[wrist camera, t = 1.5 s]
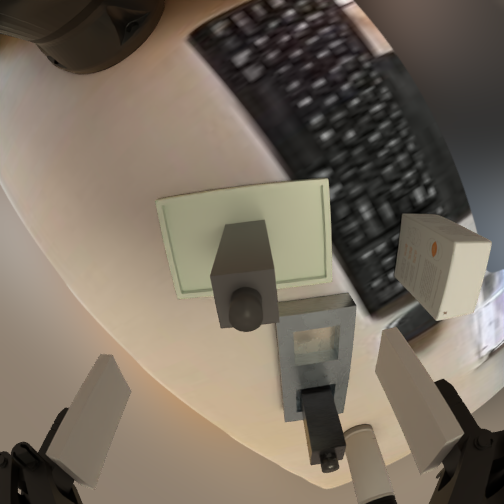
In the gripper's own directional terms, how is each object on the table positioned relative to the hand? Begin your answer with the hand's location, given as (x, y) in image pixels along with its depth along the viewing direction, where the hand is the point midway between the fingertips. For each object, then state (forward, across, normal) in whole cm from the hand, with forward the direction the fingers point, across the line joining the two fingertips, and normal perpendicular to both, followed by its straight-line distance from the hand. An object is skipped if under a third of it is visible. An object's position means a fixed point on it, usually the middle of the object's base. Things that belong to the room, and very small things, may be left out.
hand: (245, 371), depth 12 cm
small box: (+19, +20, -3) cm, 28 cm away
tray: (+19, 0, 0) cm, 19 cm away
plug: (+18, 0, 0) cm, 18 cm away
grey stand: (+19, +6, -18) cm, 27 cm away
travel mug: (+19, +16, -41) cm, 48 cm away
